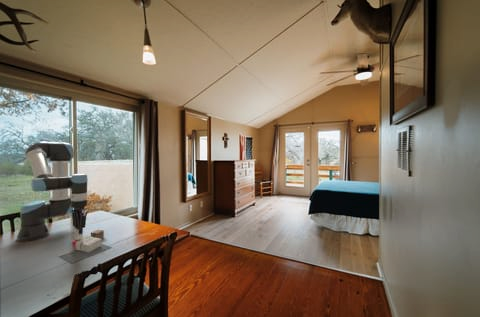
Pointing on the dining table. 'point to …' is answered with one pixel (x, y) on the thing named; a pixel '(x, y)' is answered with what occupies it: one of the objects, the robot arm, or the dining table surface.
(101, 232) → the walnut block
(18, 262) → the dining table surface
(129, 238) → the dining table surface
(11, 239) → the dining table surface
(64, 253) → the oak strip
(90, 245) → the ink box
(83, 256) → the mat
